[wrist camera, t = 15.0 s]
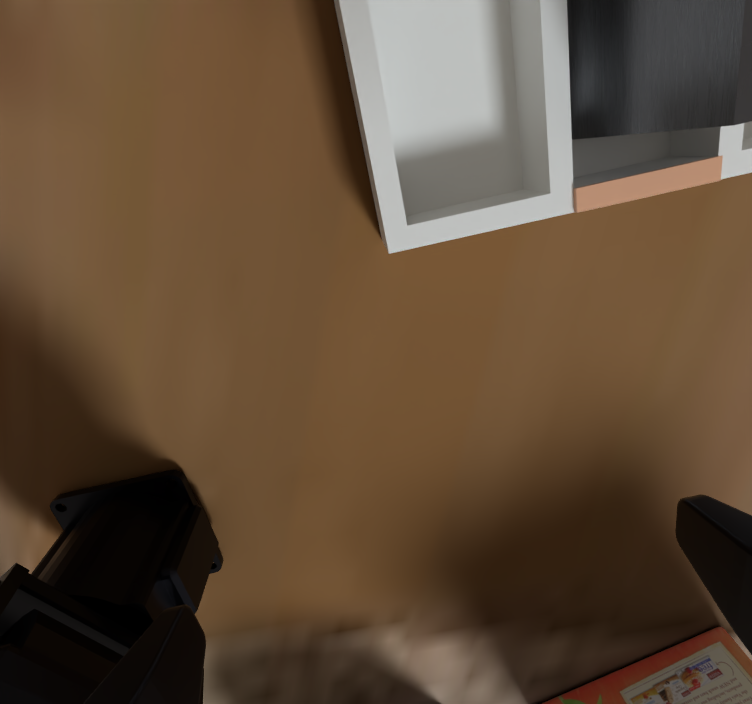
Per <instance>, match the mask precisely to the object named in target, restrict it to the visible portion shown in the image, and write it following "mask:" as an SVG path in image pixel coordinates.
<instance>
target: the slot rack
mask: <svg viewBox="0 0 752 704" xmlns="http://www.w3.org/2000/svg"><path fill="white" fill-rule="evenodd" d="M334 4H335V9H336V14H337V19H338V24H339V29H340V34H341V39H342V44H343V49H344V54H345V59H346V64H347V69H348V74H349V79H350V84H351V89H352V94H353V99H354V104H355V109H356V114H357V119H358V124H359V129H360V134H361V139H362V144H363V149H364V154H365V159H366V164H367V169H368V174H369V179H370V183H371V188H372V193H373V198H374V203H375V208H376V213H377V218H378V223H379V228H380V233H381V238H382V241H383V243H384V245H385V247H386V249H387V251H388V253H389V254H390V253H395V252H399V251H403V250H408V249H412V248H417V247H421V246H426V245H430V244H435V243H439V242H444V241H448V240H453V239H457V238H461V237H466V236H470V235H475V234H479V233H484V232H488V231H493V230H497V229H502V228H506V227H510V226H515V225H519V224H524V223H528V222H533V221H537V220H542V219H546V218H551V217H555V216H559V215H564V214H568V213H573V212H576V213H578V212H583V211H587V210H592V209H596V208H601V207H605V206H609V205H614V204H618V203H623V202H627V201H632V200H636V199H641V198H645V197H650V196H654V195H658V194H663V193H667V192H672V191H676V190H681V189H685V188H690V187H694V186H699V185H703V184H708V183H712V182H716V181H721V179H724V178H729V177H733V176H738V175H742V174H747V173H751V172H752V121H751V122H746V123H742V124H738V125H732V126H721V127H710V128H698V129H687V130H676V131H664V132H653V133H642V134H631V135H619V136H608V137H597V138H585V139H574V140H572V131H571V102H570V73H569V44H568V15H567V0H334Z"/></svg>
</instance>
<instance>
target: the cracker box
mask: <svg viewBox="0 0 752 704" xmlns="http://www.w3.org/2000/svg"><path fill="white" fill-rule="evenodd" d="M542 704H752V661H751V660H750V659H749V658H748V656H747V655H746V654H745V653H744V652H743V650H742V649H741V648H740V647H739V646H738V644H737V643H736V642H735V641H734V640H733V638H732V637H731V636H730V635H729V634H728V633H727V632H726V630H725V629H724V628H723V627H716V628H714V629H712V630H710V631H707V632H705V633H703V634H701V635H698V636H696V637H694V638H692V639H689V640H687V641H685V642H682V643H680V644H678V645H675V646H673V647H671V648H668V649H666V650H664V651H661V652H659V653H657V654H655V655H652V656H650V657H648V658H646V659H643V660H641V661H639V662H636V663H634V664H632V665H630V666H627V667H625V668H623V669H621V670H618V671H616V672H613V673H611V674H609V675H607V676H604V677H602V678H600V679H597V680H595V681H593V682H590V683H588V684H586V685H584V686H581V687H579V688H577V689H574V690H572V691H570V692H567V693H565V694H563V695H560V696H558V697H556V698H553V699H551V700H549V701H546V702H544V703H542Z"/></svg>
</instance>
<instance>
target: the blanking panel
mask: <svg viewBox="0 0 752 704" xmlns="http://www.w3.org/2000/svg"><path fill="white" fill-rule="evenodd" d="M567 15H568V44H569V73H570V102H571V131H572V140H574V139H585V138H597V137H608V136H619V135H631V134H642V133H653V132H664V131H676V130H687V129H698V128H710V127H721V126H732V125H738V124H742V123H746V122H751V121H752V0H567Z"/></svg>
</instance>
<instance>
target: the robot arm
mask: <svg viewBox="0 0 752 704" xmlns="http://www.w3.org/2000/svg"><path fill="white" fill-rule="evenodd" d="M170 479H173V480H176V481H177V482H172V481H171V480H170ZM62 504H64V505H65V506H63V505H62ZM50 509H51V511H52V512H53V514H54V516H55V517H56V519H57V520H58V522H59V523H60V525H61V527H62V528H63V530H64V531H63V532H62V534H61V535H60V536H59V538H58V539H57V540H56V542H55V543H54V544H53V546H52V547H51V548H50V550H49V551H48V552H47V554H46V555H45V556H44V558H43V559H42V560H41V562H40V563H39V564H38V566H37V567H36V568H35V570H34V571H33V572H32V574H29V573H28V572H29V571H30V570H28V569H26V568H25V567H23V566H21V565H19V564H18V563H15V564H14V565H13V566H12V567H11V568H10V569H9V570H8V571H7V572H6V573H5V574H3V575H2V576H1V577H0V704H203V681H204V668H203V666H204V658H205V649H206V639H205V634H204V632H203V630H202V628H201V626H200V624H199V622H198V620H197V618H196V616H195V615H194V614H195V613H196V611H197V610H198V607H199V604H200V601H201V598H202V595H203V591H204V588H205V585H206V582H207V579H208V576H209V574H211V573H215V572H218V571H219V570H220V569H221V567H222V563H223V557H222V555H221V553H220V551H219V548H218V540H217V538H216V536H215V534H214V532H213V529H212V527H211V525H210V523H209V521H208V519H207V516H206V514H205V512H204V510H203V508H202V507H201V506H200V505H198V503H197V501H196V499H195V497H194V495H193V492H192V490H191V488H190V486H189V484H188V482H187V479H186V477H185V475H184V474H183V473H182V472H180V471H178V470H169V471H164V472H160V473H155V474H151V475H146V476H142V477H137V478H133V479H128V480H123V481H119V482H114V483H110V484H105V485H101V486H96V487H91V488H87V489H82V490H78V491H73V492H69V493H64V494H60V495H58V496H57V497H56V498H55V499H54V500H53V501H52V502H51V504H50ZM676 538H677V541H678V543H679V545H680V547H681V549H682V550H683V552H684V554H685V555H686V557H687V558H688V560H689V561H690V563H691V565H692V566H693V568H694V569H695V571H696V572H697V574H698V576H699V577H700V579H701V580H702V582H703V583H704V585H705V587H706V588H707V590H708V591H709V593H710V594H711V596H712V598H713V599H714V601H715V602H716V604H717V606H718V607H719V609H720V610H721V612H722V613H723V615H724V617H725V618H726V620H727V621H728V623H729V624H730V626H731V627H732V629H733V630H734V632H735V633H736V634H737V636H738V637H739V638H740V640H741V641H742V642H743V644H744V645H745V647H746V648H747V649H748V651H749V652H750V653H751V654H752V516H751V515H749V514H747V513H745V512H742V511H740V510H738V509H736V508H734V507H731V506H729V505H727V504H725V503H722V502H720V501H718V500H716V499H713V498H711V497H709V496H706V495H696V496H691V497H687V498H682V499H680V501H679V502H678V505H677V518H676Z"/></svg>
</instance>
